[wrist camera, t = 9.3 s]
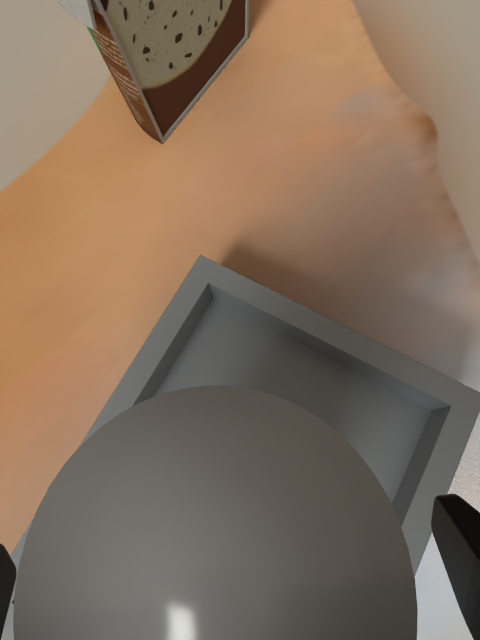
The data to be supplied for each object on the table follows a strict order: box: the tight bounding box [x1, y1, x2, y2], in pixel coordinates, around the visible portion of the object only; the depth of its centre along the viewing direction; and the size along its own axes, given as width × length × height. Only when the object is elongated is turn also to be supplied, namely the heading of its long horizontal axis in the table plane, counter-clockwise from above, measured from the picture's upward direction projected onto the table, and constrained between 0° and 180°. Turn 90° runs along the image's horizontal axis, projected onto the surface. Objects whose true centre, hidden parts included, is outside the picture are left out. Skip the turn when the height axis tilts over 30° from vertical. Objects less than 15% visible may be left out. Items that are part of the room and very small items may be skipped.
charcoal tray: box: [2, 255, 480, 640], centre depth 17 cm, size 16×13×3 cm
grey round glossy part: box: [13, 385, 417, 640], centre depth 12 cm, size 6×6×12 cm
